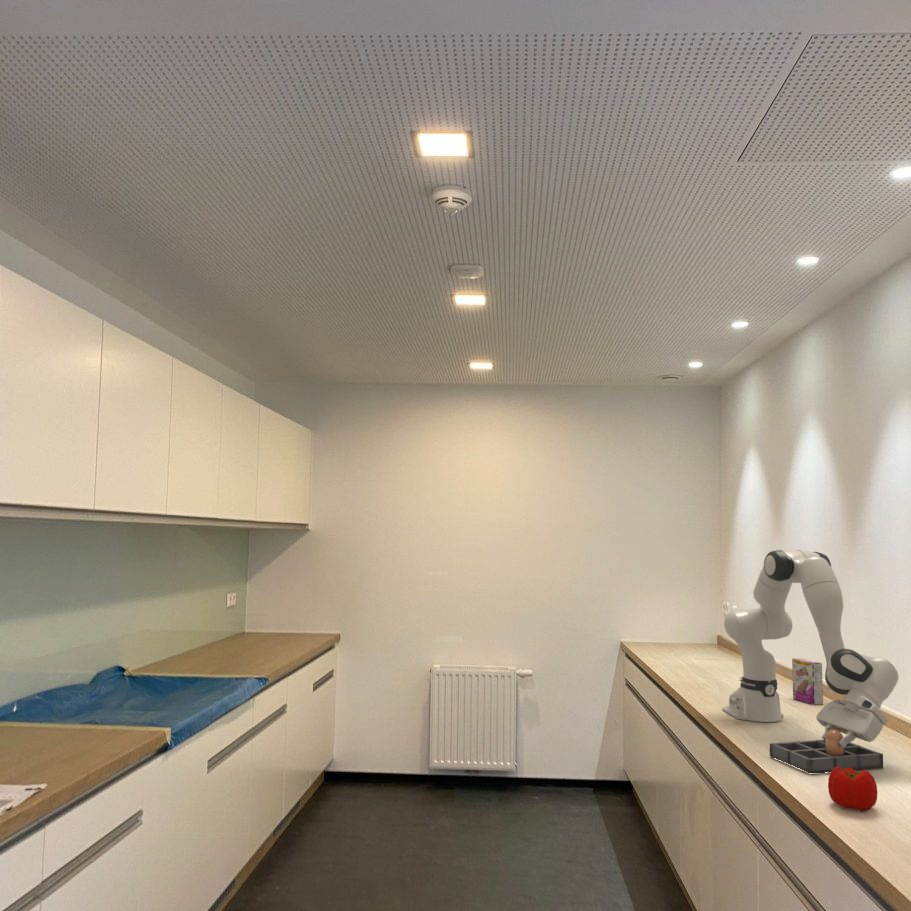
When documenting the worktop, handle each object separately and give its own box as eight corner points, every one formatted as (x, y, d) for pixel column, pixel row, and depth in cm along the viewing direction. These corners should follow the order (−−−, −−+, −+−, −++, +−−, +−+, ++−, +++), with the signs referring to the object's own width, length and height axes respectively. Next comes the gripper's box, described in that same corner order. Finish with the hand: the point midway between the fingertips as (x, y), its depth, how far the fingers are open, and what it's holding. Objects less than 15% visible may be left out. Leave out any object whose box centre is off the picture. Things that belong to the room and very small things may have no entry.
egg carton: (769, 757, 238) (769, 743, 238) (839, 751, 244) (839, 738, 244) (809, 774, 221) (809, 759, 221) (883, 768, 228) (882, 754, 228)
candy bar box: (792, 699, 319) (791, 658, 320) (801, 698, 320) (800, 657, 322) (814, 705, 308) (813, 662, 310) (823, 704, 310) (822, 662, 312)
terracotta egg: (822, 756, 231) (821, 728, 231) (835, 755, 232) (835, 727, 233) (834, 760, 226) (833, 732, 227) (848, 759, 227) (847, 731, 228)
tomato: (882, 806, 197) (881, 768, 197) (869, 819, 188) (868, 779, 188) (837, 796, 204) (836, 759, 204) (822, 808, 195) (821, 770, 196)
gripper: (827, 691, 242) (801, 726, 239) (879, 706, 223) (851, 744, 219) (840, 705, 243) (814, 740, 240) (893, 722, 223) (865, 759, 220)
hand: (832, 742), depth 229 cm, fingers closed on terracotta egg, 5 cm apart
